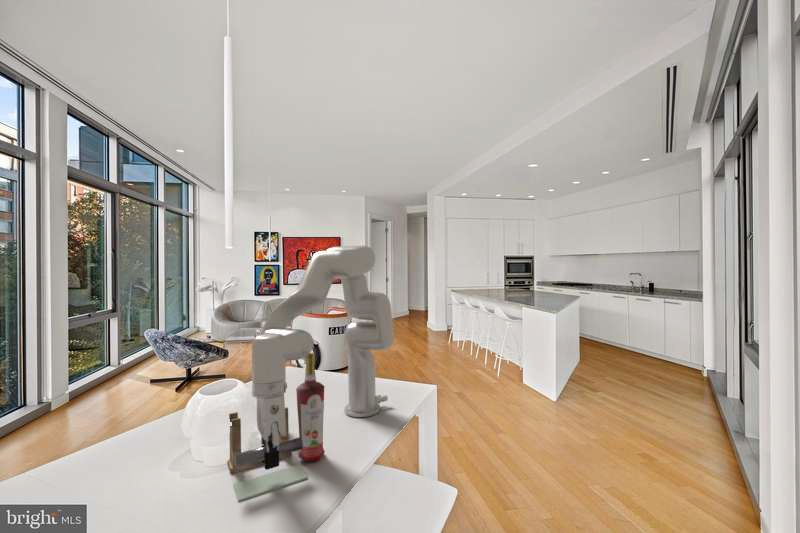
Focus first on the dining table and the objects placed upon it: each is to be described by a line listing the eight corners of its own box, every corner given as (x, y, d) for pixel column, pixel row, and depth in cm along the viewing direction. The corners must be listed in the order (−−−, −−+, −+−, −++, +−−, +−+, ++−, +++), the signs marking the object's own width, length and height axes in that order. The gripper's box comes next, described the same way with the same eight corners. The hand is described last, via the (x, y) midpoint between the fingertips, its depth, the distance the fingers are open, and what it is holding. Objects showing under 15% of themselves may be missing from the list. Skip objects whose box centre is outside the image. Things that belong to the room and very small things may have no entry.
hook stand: (285, 446, 104) (284, 401, 104) (291, 455, 99) (290, 408, 99) (227, 463, 96) (226, 413, 96) (230, 473, 91) (229, 421, 91)
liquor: (302, 468, 92) (300, 358, 92) (294, 456, 99) (292, 353, 99) (329, 459, 96) (327, 354, 96) (320, 448, 102) (318, 349, 103)
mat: (298, 465, 94) (298, 464, 94) (307, 478, 88) (307, 477, 88) (233, 485, 85) (233, 484, 85) (238, 501, 80) (238, 500, 80)
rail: (299, 446, 92) (299, 435, 92) (302, 451, 89) (302, 439, 89) (234, 464, 84) (234, 452, 84) (236, 469, 81) (236, 457, 81)
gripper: (294, 393, 82) (295, 475, 82) (276, 376, 96) (277, 446, 95) (259, 400, 78) (260, 486, 78) (246, 381, 92) (247, 454, 91)
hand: (270, 463), depth 86 cm, fingers closed on rail, 2 cm apart
